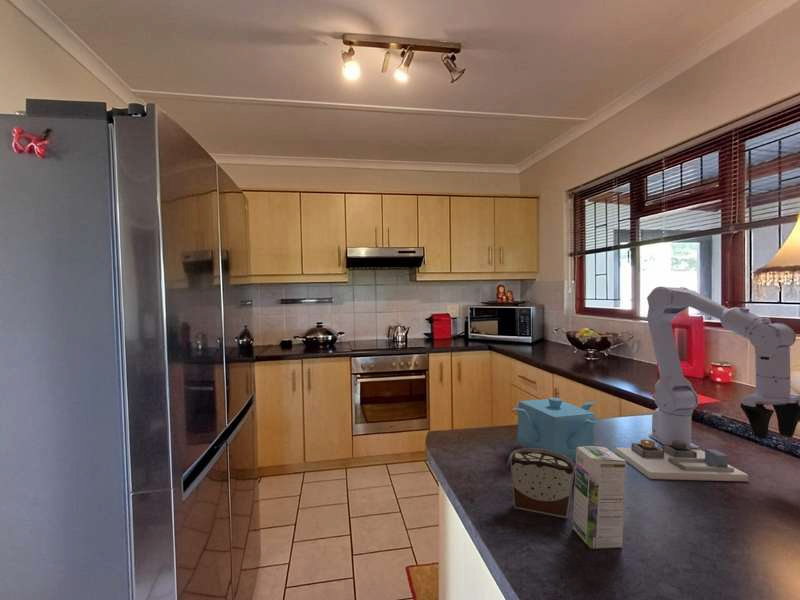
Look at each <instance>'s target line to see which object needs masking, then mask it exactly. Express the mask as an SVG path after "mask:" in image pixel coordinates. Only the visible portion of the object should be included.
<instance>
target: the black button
mask: <svg viewBox="0 0 800 600" xmlns="http://www.w3.org/2000/svg"><path fill="white" fill-rule="evenodd" d="M672 448H673V449H675V450H678V451H687V443H685V442H682V441H677V440H673V441H672Z"/></svg>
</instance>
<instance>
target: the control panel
mask: <svg viewBox="0 0 800 600" xmlns="http://www.w3.org/2000/svg"><path fill="white" fill-rule="evenodd" d="M640 444H641V442H640V443H637V442H635V443H632V442H631V447H615V453H614V454H616V455H617V456H619V457H620V458H621V459H624V460H626V463H627V464H630V465H631V466H632V467H633V468H635V469H636V470H637V471H639V472H640V473H642V475H644V476H645V477H647V478H648V479H650V480H676V481H677V480H679V481H680V480H681V481H683V480H684V481H686V480H687V481H712V482H713V481H719V482H720V481H721V482H723V481H724V482H748V481H749V474H747V473H746V472H743V471H742V470H740V469H738V468H736V467H734V466H732V465H730V464H728V467H714V466H712V465H710V464H708V463H706V462H705V450H701V449H692V448H688V447H687V451H678V450H675V449H673V448H672V444H662V448H659V447H658V446H656V445H655V450H645V449H643V448H641V447H640Z"/></svg>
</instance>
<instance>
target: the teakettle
mask: <svg viewBox="0 0 800 600" xmlns="http://www.w3.org/2000/svg"><path fill="white" fill-rule="evenodd" d="M595 404H596V402H594V401H593V402H592V401H589V402H588V401H587V402H585V403H583V404H582V405H580V407H579V406H577V405H573V404H572V403H568V402H566V401H563V399H561V398H558V397H548V398H543V399H531V400H519V401H518V405H517V406H518V407H515V408H512V410H513V411H514V412H516V413H517V437H516V438H517V440H516V442H518V443H519V444H521V445H522V446H524V447H525V448H539V449H545V450H550V451H554V452H557V453H560V454H562V455H564V456H566V457H568V458H569V459H571V460H572V461H573V462H574V464H576V448H577V447H584V446H595V441H596V439H595V438H596V425H597V424H599V421H596V413H594V412H592V411H589V410H590V409H591V407H593V406H594V405H595Z"/></svg>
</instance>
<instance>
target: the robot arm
mask: <svg viewBox="0 0 800 600" xmlns="http://www.w3.org/2000/svg"><path fill="white" fill-rule="evenodd" d="M646 299H647V304H648V308H647V309H648V310H647V315H646V317H647V318H646V319H647V323H648V324H647V325H648V329H649V332H650V337H651V341H652V347H653V350H654V356H655V360H656V364H657V369H658V373H659V379H658V380H657V381H656V383H655V384H654V390H655V393H654V403H655V405H656V406H657V408H655V409H654V410H653V413H652V417H651V420H652V421H651V433H649V434H648V436H649V438H650V437H651V438H652V439H654V440H656V441H657V442H660V443H661V444H662V445H663V444H672V441H673V440H677V441H682V442H685V443H687V447H688V448H689V449H694V450H699V449H700V448H699V447H700V446H697V445H696V444H694V443H692V442H691V441H692V439H691V438H692V414H693V413H694V410H695V409H696V408H698V405H699V401H700V400H699V396H698V394H697V392H696V391H695V390H694V388H693V385H692V382H691V381H689V380H688V379H687V377H685V376H684V374H683V368H682V365H681V361H680V356H679V352H678V348H677V344H676V338H675V336H674V331H673V326H672V323H671V322H672V321H673V319H674V318H675V317H676V316H678V315H679V314H680V313H681V312H683V311H685V310H687V309H688V308H692V309H694V310H697V311H699V312H702V313H703V314H706V315H708V316H711V317H712V318H714V319H715V318H716V319H717V320H719V321H720V324H721V326H722V328H724V329H727V330H729V331H731V332H733V333H735V334H737V335H739V336H741V337H743V338H745V339H747V340H748V341H749V342H750V344H751V345H752V346H753V347H754V354H755V358H754V359H755V393H753V394H749V395H743V396H742V403H741V402H740V408H741V410H742V411H743V413H744V415H745V416H746V418H747V420H748V422H749V425H750V427H751V430H752V434H753V437H755V438H759V439H762V440H767V439H768V435H769V425H770V422H771V418H772V416H773V414H774V412H775V414H776V419H777V428H778V433H779V435H780V436H785V437H788V438H793V436H794V435H795V432H796V428H797V426H798V423H799V421H800V395H798V394H794V393H791V347H792V346H793V345H794V344H795V342H796V339H797V336H796V335H797V334H796V333H795V330H793V328H792V327H790V326H789V325H787V324H786V323H782V322H775V323H772V320H771V318H769V317H761V316H759V315H757V314H754V313H752V312H751V311H750V308H747V307H744V306H743V307H742V306H741V307H738V306H737V307H736V306H735V307H730V308H729V307H726V306H724V305H722V304H720V303H718V302H716V301H714V300H712V299H710V298H709V297H707V296H705V295H702V294H701V293H699V292H697V291H696V290H692V289H689V288H687V287H684V286H683V287H680V286H679V287H672V286H671V287H670V286H666V287H665V286H657V287H655V288H653V289H652V290H651V292H650V293H649V294H648V295H647V297H646ZM766 406H772V407H773V409H770V408H766Z"/></svg>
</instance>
